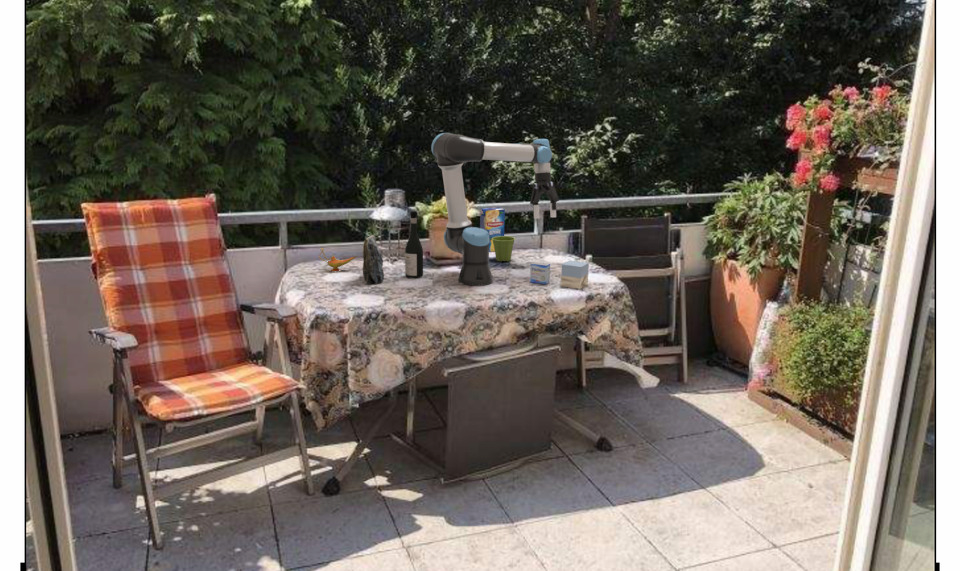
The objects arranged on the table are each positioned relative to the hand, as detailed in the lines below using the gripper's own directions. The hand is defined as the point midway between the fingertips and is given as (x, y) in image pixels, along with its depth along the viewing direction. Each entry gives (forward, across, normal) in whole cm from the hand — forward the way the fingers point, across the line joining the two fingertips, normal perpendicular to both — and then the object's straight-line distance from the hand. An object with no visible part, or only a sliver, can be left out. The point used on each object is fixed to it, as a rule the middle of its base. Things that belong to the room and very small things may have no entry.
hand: (545, 218), depth 365 cm
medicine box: (+29, -16, +16) cm, 37 cm away
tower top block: (+26, -28, +5) cm, 38 cm away
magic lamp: (+19, +44, +87) cm, 100 cm away
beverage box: (+15, +50, 0) cm, 52 cm away
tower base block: (+31, -26, +4) cm, 41 cm away
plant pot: (+20, +28, +7) cm, 35 cm away
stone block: (+24, +22, +79) cm, 85 cm away
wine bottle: (+24, +19, +61) cm, 68 cm away
